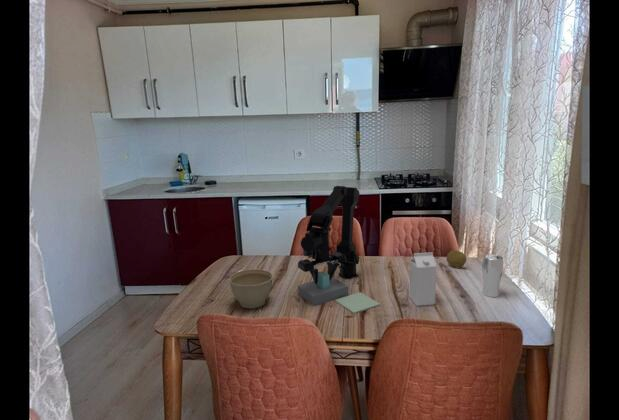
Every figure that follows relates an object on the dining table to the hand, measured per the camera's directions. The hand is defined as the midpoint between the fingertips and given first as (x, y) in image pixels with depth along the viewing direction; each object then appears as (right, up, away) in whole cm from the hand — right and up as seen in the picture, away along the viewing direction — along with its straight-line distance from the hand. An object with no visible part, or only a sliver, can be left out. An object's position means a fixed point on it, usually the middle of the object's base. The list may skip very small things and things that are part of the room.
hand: (322, 282), depth 145 cm
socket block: (0, -5, +1) cm, 6 cm away
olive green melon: (+62, +2, +25) cm, 67 cm away
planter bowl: (-27, -8, -3) cm, 28 cm away
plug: (0, -5, +1) cm, 6 cm away
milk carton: (+37, -6, -7) cm, 38 cm away
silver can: (+64, -4, -3) cm, 65 cm away
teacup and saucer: (-37, -3, +23) cm, 44 cm away
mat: (+13, -7, -7) cm, 16 cm away
